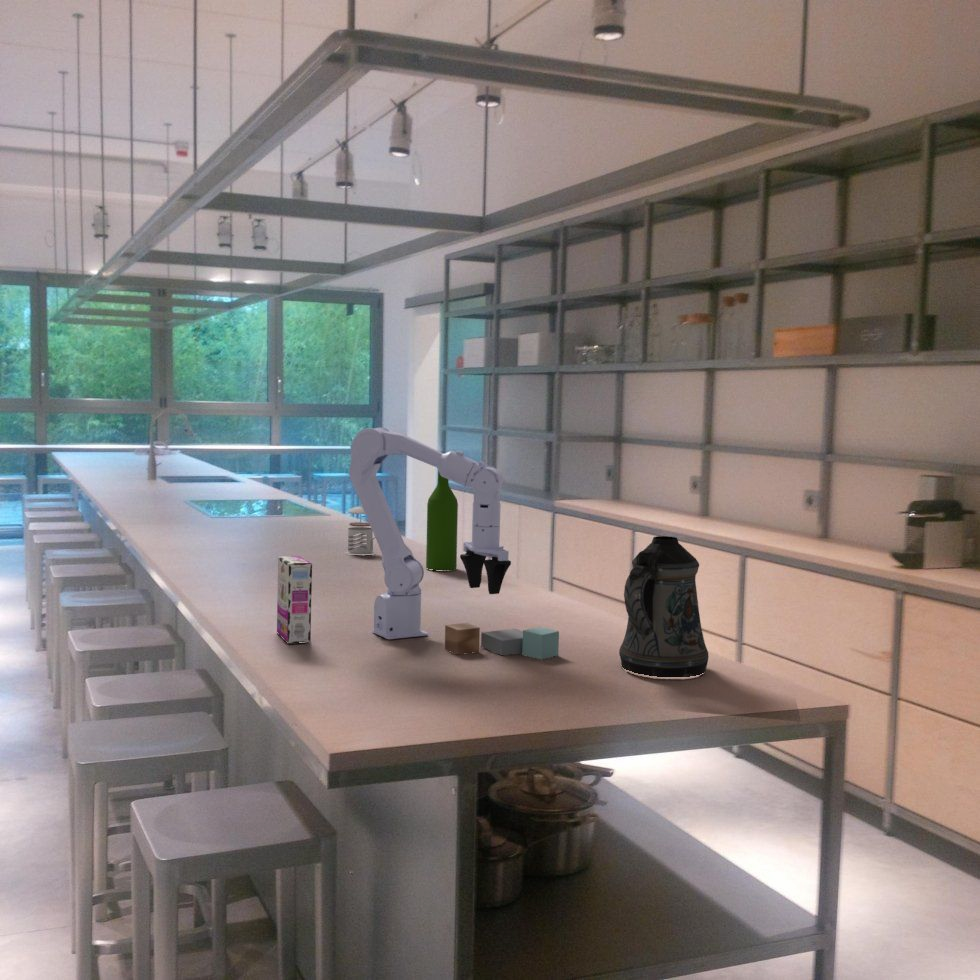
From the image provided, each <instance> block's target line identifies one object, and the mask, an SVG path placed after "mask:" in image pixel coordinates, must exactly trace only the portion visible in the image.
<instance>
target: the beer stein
mask: <svg viewBox="0 0 980 980" xmlns="http://www.w3.org/2000/svg"><path fill="white" fill-rule="evenodd" d="M631 565H632V568H631V570H630V572H629V575H628V576H627V579H626V580H625V584H624V591H623V598H624V605H625V609H626V612H627V616H628V618H627V623H626V624H627V625H626V630H625V635H624V636H623V637H624V639H622V640H623V641H622V643H621V645H620V647H619V652H618V654H619V658H620V663H621V665H622V666H621V668H622V667H623V668H624V669H626V670H629V671H632V672H634V673H638V674H644V675H649V676H657V677H690V676H696V675H700V674H702V673H704V672H705V673H706V670H707V666H708V661H709V651H708V648H707V645H706V643H705V639H704V633H703V629H702V623H701V616H700V609H699V600H698V592H697V584H696V581H697V580H696V576H697V574H698V572H699V568H700V563H699V561H698V560H697V558H696V557H695V556H694V555H693V554H692V553H691V552H689V551H688V550H687V549H686V548H685V547H684V546H683V545H682V544H681V543H680V542H679V539H678V537H676V536H664V535H663V536H661V535H660V536H659V535H658V536H657V535H656V536H653V537H652V540H651V542H650V543H649V544H648V545H647V546H646V547H645V548H644V549H643V550H640V551H639V552H638V554H637V555H635V557H634V558H633V559H632V561H631Z"/></svg>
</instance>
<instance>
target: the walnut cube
mask: <svg viewBox="0 0 980 980" xmlns="http://www.w3.org/2000/svg"><path fill="white" fill-rule="evenodd" d="M444 626H445V627H444V628H445V629H444V650H445V649H446V650H445V651H447V650H448V652H449V651H451V652H450V653H452V652H453V653H452V654H454V653H455V655H456V654H461V655H465V654H464V653H469V654H473V653H472V652H477V653H480V638H481V637H480V635H481V634H480V631H481V630H480V627H478V626H477V625H473V624H472V623H469V622H464V623H463V622H461V623H453V624H446V625H444Z"/></svg>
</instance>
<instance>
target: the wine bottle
mask: <svg viewBox="0 0 980 980" xmlns="http://www.w3.org/2000/svg"><path fill="white" fill-rule="evenodd" d="M426 508H427V509H426V512H427V513H426V549H425V550H426V553H425V554H426V557H425V558H426V561H425V562H426V563H425V568H428V569H433V570H454V569H456V570H457V566H458V565H457V563H458V562H457V561H458V557H457V556H458V521H459V519H458V518H459V517H458V516H459V515H458V514H459V504H458V499H457V496H456V495H455V494H454V492H453V489H452V488H451V486H450V484H449V479H446V478H444V477H442V476H441V475H440V473H439V470H438V469H437V484H436V486H435V488H434V489H433V491H432V492H431V495H429V497H428V501H427V503H426ZM454 571H455V570H454Z"/></svg>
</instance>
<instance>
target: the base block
mask: <svg viewBox="0 0 980 980" xmlns="http://www.w3.org/2000/svg"><path fill="white" fill-rule="evenodd" d="M480 635H481V637H480V647H481V648H482V647H483V648H482V649H485V648H486V649H485V650H487V649H488V651H489V650H490V652H492V651H493V652H492V653H494V652H495V654H497V653H498V654H497V655H499V654H500V655H499V656H501V655H504V656H510V654H512V655H519V654H518V653H520V654H522V647H523V631H522V630H520V629H517V628H510V629H501V630H500V629H499V630H491V631H481V634H480Z"/></svg>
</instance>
